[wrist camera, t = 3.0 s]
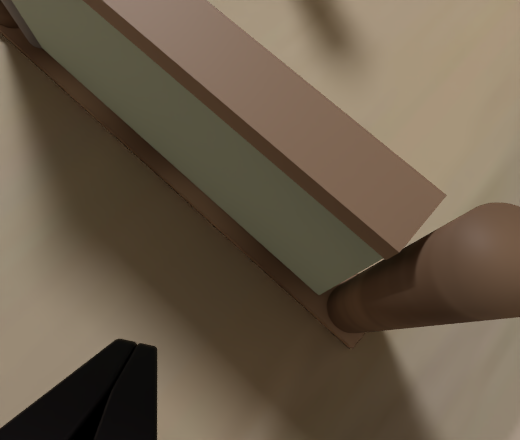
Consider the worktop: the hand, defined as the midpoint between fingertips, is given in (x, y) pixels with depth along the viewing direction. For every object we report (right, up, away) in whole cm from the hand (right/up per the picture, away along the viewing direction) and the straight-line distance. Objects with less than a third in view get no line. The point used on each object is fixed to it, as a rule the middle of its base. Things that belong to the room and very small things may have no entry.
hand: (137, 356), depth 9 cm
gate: (-1, +6, +10) cm, 11 cm away
